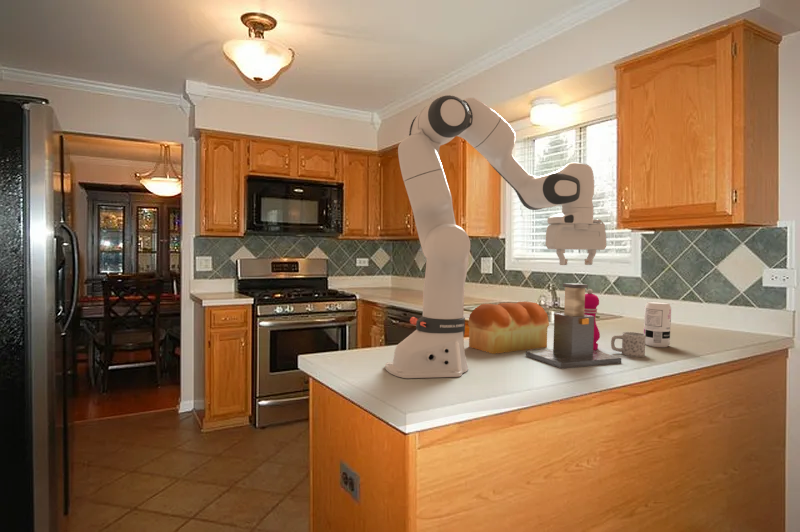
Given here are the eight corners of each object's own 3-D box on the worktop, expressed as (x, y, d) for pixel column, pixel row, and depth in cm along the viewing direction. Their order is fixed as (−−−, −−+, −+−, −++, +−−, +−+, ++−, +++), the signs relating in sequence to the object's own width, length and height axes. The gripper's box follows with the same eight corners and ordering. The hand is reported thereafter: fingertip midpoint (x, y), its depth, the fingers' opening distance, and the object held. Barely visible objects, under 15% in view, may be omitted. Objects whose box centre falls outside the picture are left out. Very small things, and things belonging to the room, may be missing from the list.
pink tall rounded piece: (601, 351, 162) (603, 290, 161) (578, 349, 163) (580, 289, 162) (597, 346, 169) (599, 288, 168) (574, 345, 170) (577, 287, 169)
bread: (521, 341, 177) (522, 300, 177) (548, 347, 167) (549, 303, 166) (467, 347, 164) (468, 303, 164) (493, 354, 154) (494, 307, 153)
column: (571, 355, 145) (574, 284, 144) (560, 352, 150) (562, 283, 149) (585, 354, 147) (587, 284, 146) (573, 351, 152) (575, 283, 151)
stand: (561, 368, 137) (562, 320, 136) (525, 356, 152) (527, 312, 151) (621, 362, 145) (623, 317, 145) (582, 351, 160) (583, 310, 159)
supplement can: (639, 342, 178) (640, 301, 177) (662, 343, 178) (664, 301, 177) (649, 347, 170) (651, 303, 169) (674, 347, 169) (676, 304, 169)
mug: (642, 353, 160) (643, 332, 160) (646, 357, 153) (647, 336, 153) (609, 350, 162) (609, 330, 162) (612, 355, 156) (613, 334, 156)
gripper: (596, 220, 153) (595, 264, 154) (542, 218, 146) (541, 264, 146) (612, 219, 148) (610, 265, 148) (557, 217, 140) (555, 265, 141)
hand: (576, 265), depth 147 cm, fingers open, 8 cm apart
